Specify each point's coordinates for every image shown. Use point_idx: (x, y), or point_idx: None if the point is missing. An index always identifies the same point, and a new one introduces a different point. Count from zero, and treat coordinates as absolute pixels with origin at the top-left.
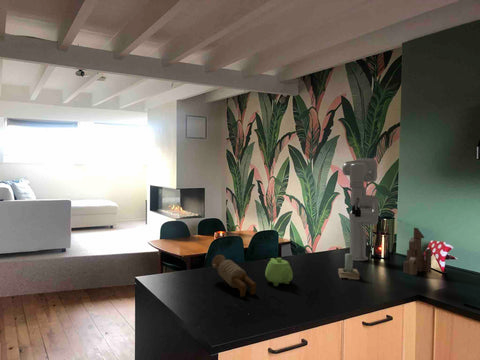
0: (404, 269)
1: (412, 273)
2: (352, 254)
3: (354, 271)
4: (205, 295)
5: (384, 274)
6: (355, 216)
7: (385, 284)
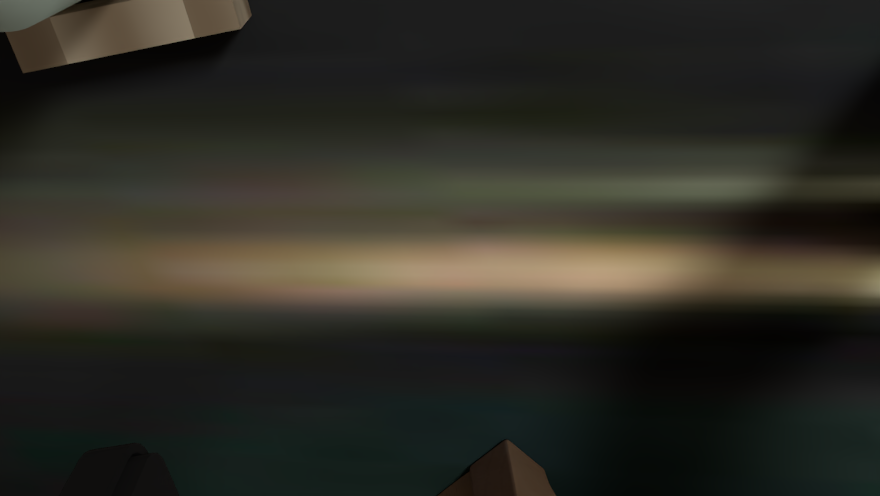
0: (498, 467)
1: None
2: (8, 24)
3: (96, 10)
4: None
5: (372, 293)
6: (99, 474)
7: (7, 296)
